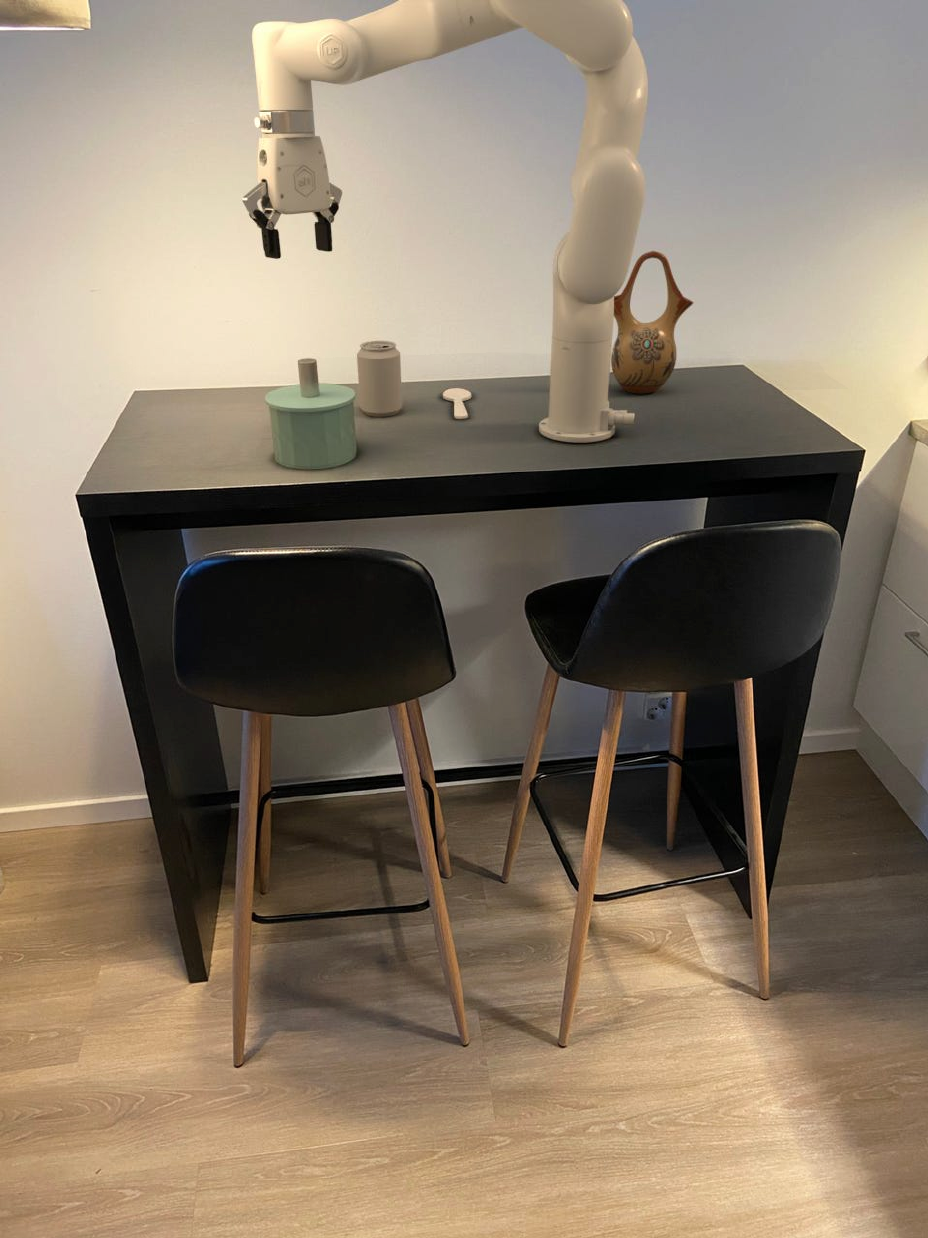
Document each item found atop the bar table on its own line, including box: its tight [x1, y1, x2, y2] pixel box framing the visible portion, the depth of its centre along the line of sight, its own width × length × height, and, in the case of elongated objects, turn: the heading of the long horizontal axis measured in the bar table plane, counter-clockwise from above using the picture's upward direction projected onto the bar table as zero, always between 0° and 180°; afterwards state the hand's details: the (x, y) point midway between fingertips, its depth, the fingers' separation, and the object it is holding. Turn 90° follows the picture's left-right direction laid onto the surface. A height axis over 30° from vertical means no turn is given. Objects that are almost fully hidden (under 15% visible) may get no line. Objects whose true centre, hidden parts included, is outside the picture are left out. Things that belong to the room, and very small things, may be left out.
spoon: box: [442, 387, 472, 420], centre depth 166 cm, size 5×18×1 cm, turn 3°
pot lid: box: [264, 357, 356, 412], centre depth 137 cm, size 14×14×6 cm
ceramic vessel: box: [610, 250, 694, 395], centre depth 167 cm, size 16×9×25 cm, turn 93°
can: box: [356, 340, 403, 418], centre depth 160 cm, size 8×8×12 cm
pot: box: [268, 401, 358, 471], centre depth 141 cm, size 13×13×9 cm
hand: (299, 253), depth 138 cm, fingers open, 9 cm apart
